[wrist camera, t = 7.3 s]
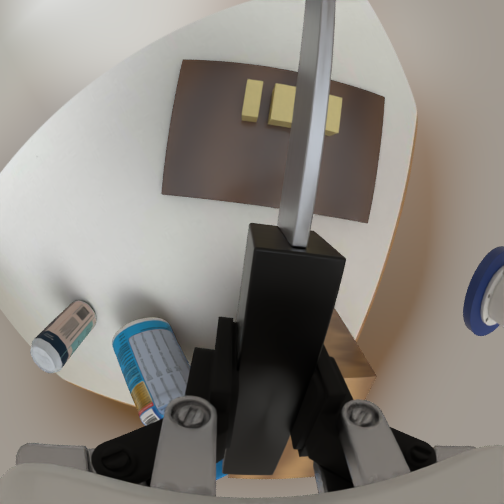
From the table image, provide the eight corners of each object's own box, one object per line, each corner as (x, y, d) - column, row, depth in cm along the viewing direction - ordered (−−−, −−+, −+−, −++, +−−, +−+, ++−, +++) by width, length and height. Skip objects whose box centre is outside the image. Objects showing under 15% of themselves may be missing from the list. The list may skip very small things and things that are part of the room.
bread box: (335, 309, 35) (377, 376, 22) (301, 409, 41) (316, 476, 27) (245, 301, 34) (248, 375, 21) (229, 406, 40) (228, 477, 27)
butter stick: (333, 103, 27) (342, 97, 24) (329, 136, 28) (338, 133, 25) (272, 90, 26) (275, 82, 24) (267, 124, 28) (270, 119, 25)
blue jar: (158, 304, 30) (248, 466, 19) (177, 332, 37) (251, 458, 26) (98, 334, 28) (171, 498, 17) (126, 356, 34) (191, 485, 24)
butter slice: (261, 89, 26) (263, 80, 23) (256, 122, 27) (258, 117, 25) (246, 87, 26) (247, 78, 23) (241, 120, 27) (241, 115, 24)
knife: (267, 427, 12) (273, 475, 9) (223, 425, 12) (222, 474, 9) (339, -26, 6) (364, -66, 3) (286, -39, 6) (298, -84, 3)
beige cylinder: (68, 297, 34) (22, 339, 22) (94, 300, 34) (50, 346, 22) (75, 325, 35) (36, 371, 23) (100, 329, 35) (63, 380, 24)
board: (380, 99, 28) (384, 97, 27) (363, 221, 32) (367, 223, 31) (184, 63, 26) (182, 59, 25) (164, 193, 30) (161, 194, 29)
